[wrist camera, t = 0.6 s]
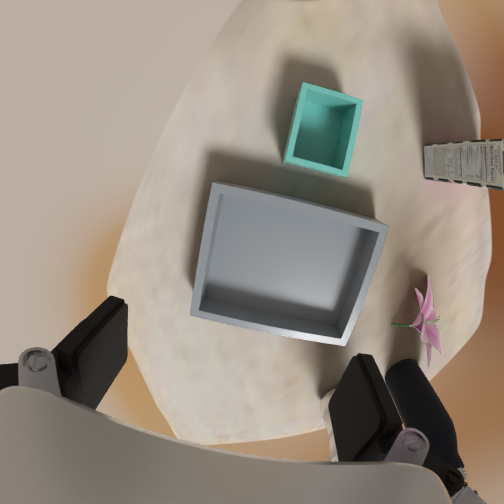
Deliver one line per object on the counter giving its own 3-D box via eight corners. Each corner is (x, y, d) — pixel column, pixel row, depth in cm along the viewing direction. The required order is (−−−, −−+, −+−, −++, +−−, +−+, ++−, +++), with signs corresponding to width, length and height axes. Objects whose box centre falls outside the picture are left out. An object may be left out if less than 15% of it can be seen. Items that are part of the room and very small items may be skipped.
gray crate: (219, 180, 34) (212, 182, 30) (375, 219, 34) (389, 226, 30) (197, 299, 39) (189, 315, 34) (338, 328, 39) (345, 346, 34)
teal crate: (296, 96, 30) (302, 82, 25) (347, 110, 31) (363, 100, 25) (282, 162, 33) (284, 160, 27) (333, 175, 33) (346, 177, 27)
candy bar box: (478, 148, 30) (559, 152, 14) (479, 182, 31) (560, 199, 16) (420, 142, 31) (504, 136, 15) (422, 179, 32) (506, 195, 17)
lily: (421, 343, 40) (466, 351, 31) (371, 368, 37) (419, 385, 28) (417, 272, 41) (464, 270, 32) (365, 287, 37) (418, 289, 28)
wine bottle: (419, 354, 40) (501, 495, 11) (416, 380, 41) (482, 512, 13) (384, 365, 41) (452, 523, 12) (384, 391, 42) (438, 536, 14)
